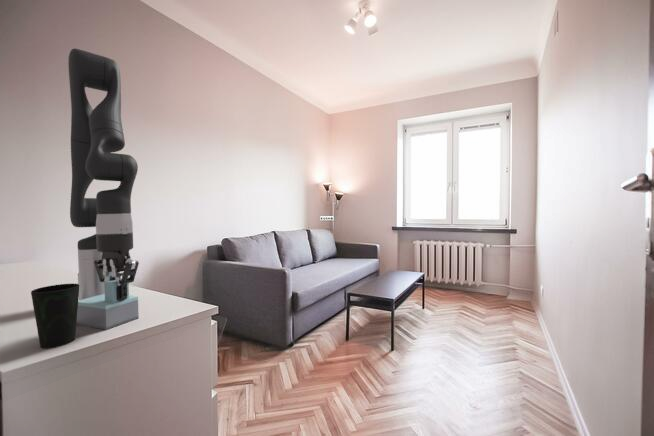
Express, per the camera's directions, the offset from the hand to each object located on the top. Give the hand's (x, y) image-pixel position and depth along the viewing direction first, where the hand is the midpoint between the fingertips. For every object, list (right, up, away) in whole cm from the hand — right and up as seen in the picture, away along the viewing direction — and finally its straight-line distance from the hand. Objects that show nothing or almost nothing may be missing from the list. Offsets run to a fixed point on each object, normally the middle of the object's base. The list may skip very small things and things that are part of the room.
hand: (117, 299), depth 74 cm
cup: (-5, -7, -11) cm, 14 cm away
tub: (-4, -6, +2) cm, 7 cm away
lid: (-4, -2, +1) cm, 4 cm away
